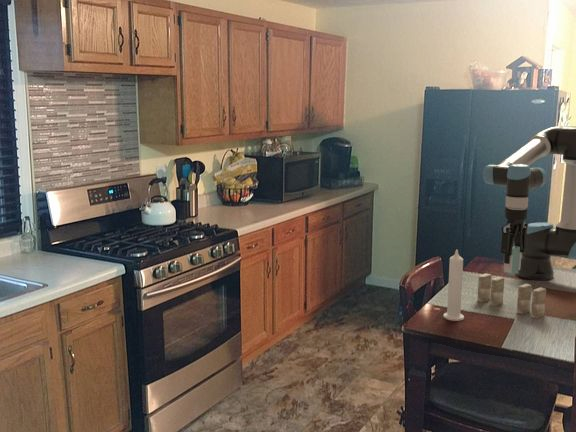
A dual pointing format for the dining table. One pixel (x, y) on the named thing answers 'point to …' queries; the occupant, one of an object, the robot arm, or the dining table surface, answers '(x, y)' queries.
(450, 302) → the white post
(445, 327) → the dining table surface
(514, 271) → the tile
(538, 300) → the tile
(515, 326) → the dining table surface
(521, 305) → the tile
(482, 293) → the light brown flat block
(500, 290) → the tile
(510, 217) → the robot arm
